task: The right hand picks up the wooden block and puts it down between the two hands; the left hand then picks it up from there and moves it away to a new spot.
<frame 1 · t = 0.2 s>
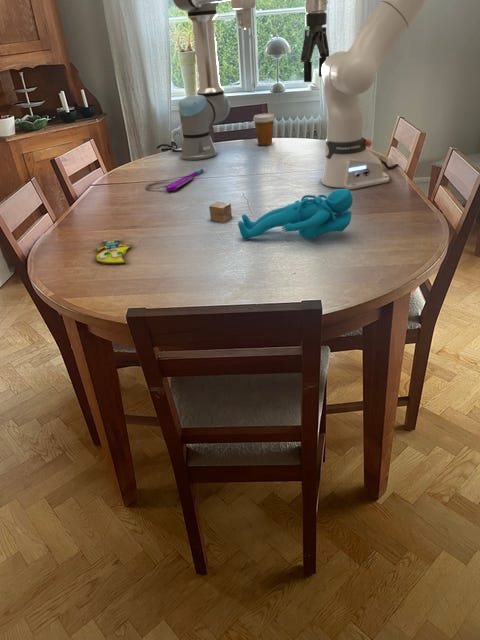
left hand: (315, 79, 181), 28 cm above the table, tool pointing down, fingers open, 13 cm apart
right hand: (244, 28, 136), 48 cm above the table, tool pointing down, fingers open, 8 cm apart
toy 2: (112, 253, 129), on the table
toy: (294, 236, 129), on the table
beer glass: (265, 144, 219), on the table
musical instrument: (174, 182, 179), on the table
block: (221, 219, 144), on the table
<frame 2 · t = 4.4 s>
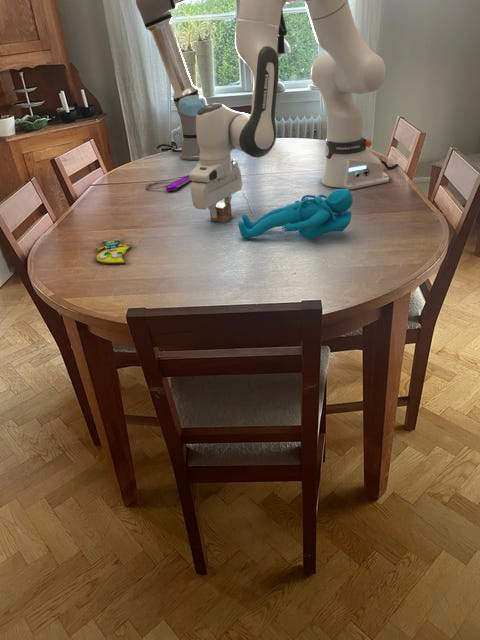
left hand: (273, 55, 206), 35 cm above the table, tool pointing down, fingers open, 13 cm apart
right hand: (220, 213, 143), 2 cm above the table, tool pointing down, fingers closed on block, 4 cm apart
block: (221, 219, 144), on the table, touching right hand
everything else where it was.
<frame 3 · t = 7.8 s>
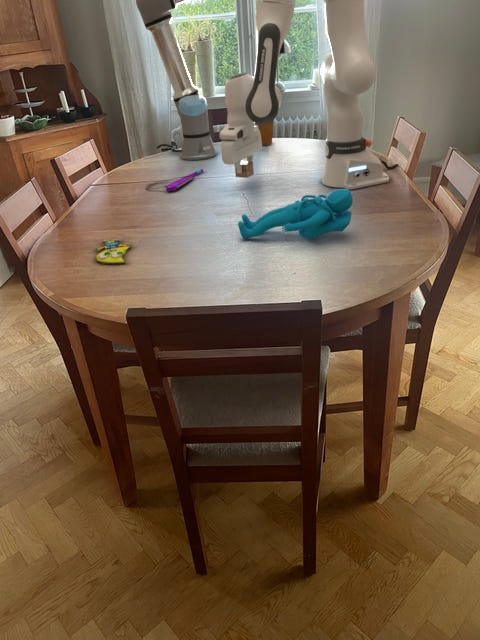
left hand: (273, 55, 206), 35 cm above the table, tool pointing down, fingers open, 13 cm apart
right hand: (244, 170, 166), 6 cm above the table, tool pointing down, fingers closed on block, 4 cm apart
block: (244, 175, 167), point 4 cm above the table, touching right hand
everything else where it was.
when the right hand's fingers open (3 cm above the table, at t = 11.1 s): block stays where it is, on the table.
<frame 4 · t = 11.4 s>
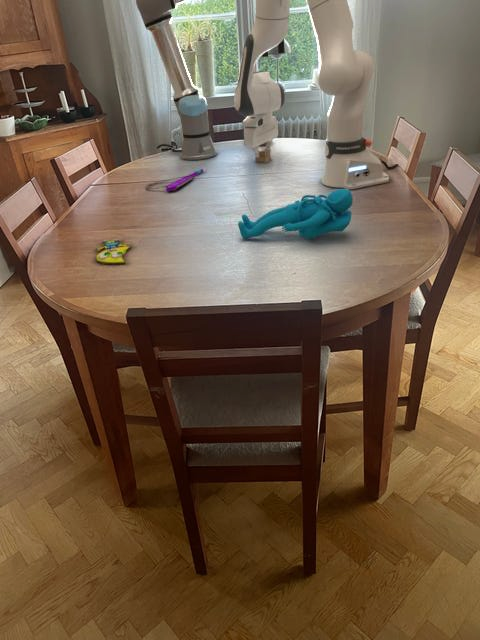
left hand: (273, 55, 206), 35 cm above the table, tool pointing down, fingers open, 13 cm apart
right hand: (263, 154, 193), 3 cm above the table, tool pointing down, fingers open, 7 cm apart
block: (263, 161, 195), on the table
everything else where it was.
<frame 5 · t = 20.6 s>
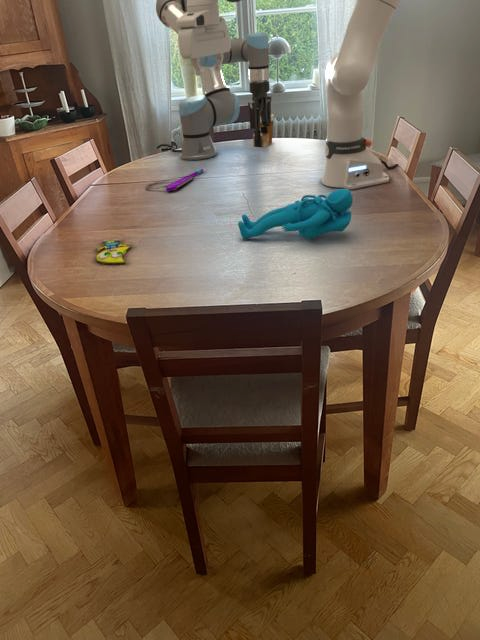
left hand: (261, 145, 192), 6 cm above the table, tool pointing down, fingers closed on block, 4 cm apart
right hand: (209, 73, 142), 37 cm above the table, tool pointing down, fingers open, 8 cm apart
block: (261, 146, 192), point 6 cm above the table, touching left hand
everything else where it was.
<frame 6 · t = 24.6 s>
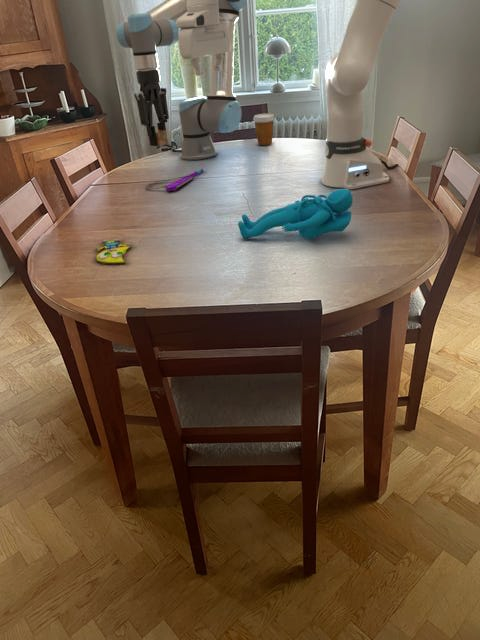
left hand: (158, 143, 169), 15 cm above the table, tool pointing down, fingers closed on block, 4 cm apart
right hand: (209, 73, 142), 37 cm above the table, tool pointing down, fingers open, 8 cm apart
block: (159, 144, 169), point 15 cm above the table, touching left hand
everything else where it was.
when the left hand's fingers open (1 cm above the table, at t = 28.7 s): block stays where it is, on the table.
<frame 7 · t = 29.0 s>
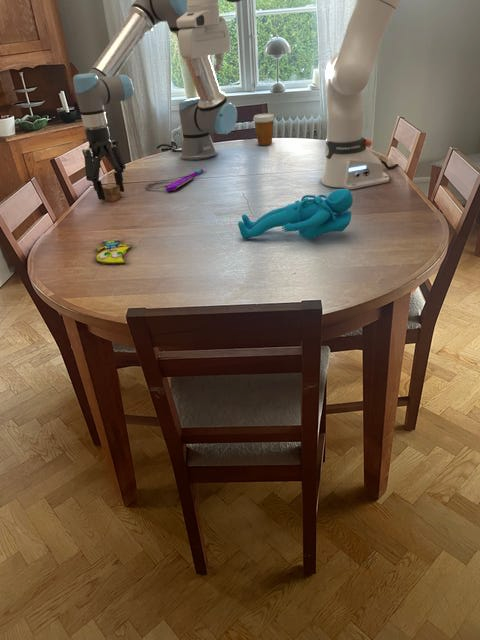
left hand: (111, 195, 168), 1 cm above the table, tool pointing down, fingers open, 8 cm apart
right hand: (209, 73, 142), 37 cm above the table, tool pointing down, fingers open, 8 cm apart
block: (112, 198, 169), on the table
everything else where it was.
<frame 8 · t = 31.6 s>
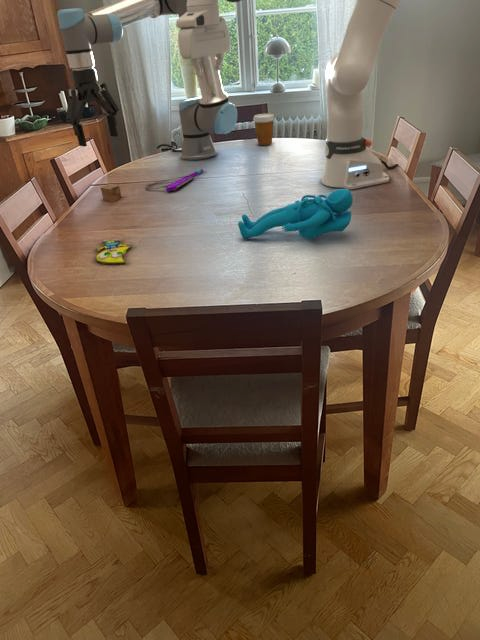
left hand: (99, 141, 158), 20 cm above the table, tool pointing down, fingers open, 13 cm apart
right hand: (209, 73, 142), 37 cm above the table, tool pointing down, fingers open, 8 cm apart
nothing on the table moved.
at the end: block inside the target area (0.1 cm from its centre), on the table; block tilted 0°; the two hands never held the block at the same time; the left hand is holding nothing; the right hand is holding nothing; block at rest at the end (0.0 cm/s) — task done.
